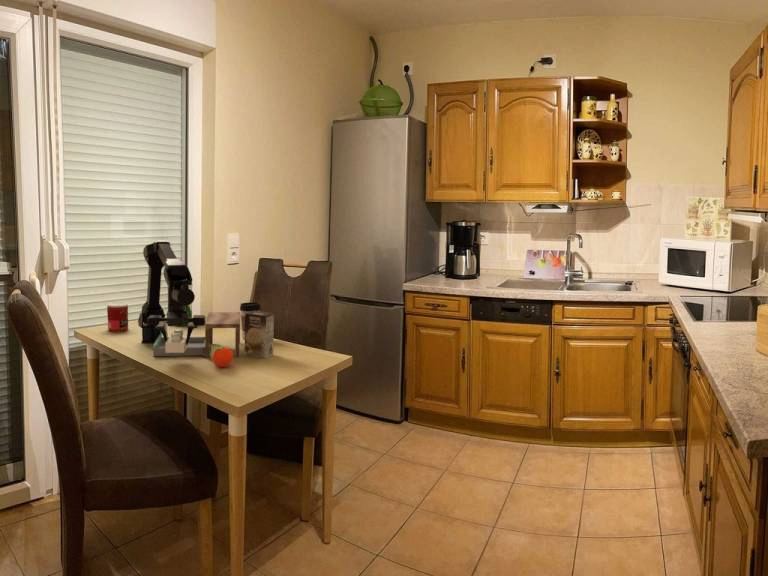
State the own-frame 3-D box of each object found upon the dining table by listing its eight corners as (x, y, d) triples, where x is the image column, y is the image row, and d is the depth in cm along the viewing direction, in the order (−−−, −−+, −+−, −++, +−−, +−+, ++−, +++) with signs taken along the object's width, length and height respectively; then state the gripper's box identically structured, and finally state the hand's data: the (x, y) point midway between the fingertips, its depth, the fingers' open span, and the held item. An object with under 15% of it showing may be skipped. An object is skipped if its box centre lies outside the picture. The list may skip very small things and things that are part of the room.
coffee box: (243, 355, 214) (243, 313, 211) (252, 351, 220) (253, 310, 217) (265, 358, 211) (265, 315, 208) (274, 354, 217) (274, 312, 214)
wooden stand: (205, 357, 208) (205, 324, 206) (208, 343, 229) (208, 312, 227) (239, 357, 211) (239, 323, 209) (239, 342, 231) (240, 312, 229)
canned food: (123, 332, 239) (122, 306, 238) (104, 331, 239) (103, 305, 238) (131, 328, 247) (131, 303, 245) (113, 327, 247) (112, 302, 245)
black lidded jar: (255, 342, 234) (255, 305, 231) (235, 340, 235) (236, 304, 233) (263, 337, 242) (264, 302, 239) (244, 335, 243) (245, 300, 241)
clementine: (210, 370, 194) (210, 350, 193) (208, 364, 200) (208, 345, 199) (234, 368, 197) (234, 348, 196) (231, 363, 204) (231, 343, 202)
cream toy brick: (165, 352, 195) (165, 335, 194) (170, 345, 204) (170, 329, 203) (184, 352, 196) (183, 335, 195) (188, 345, 205) (188, 329, 204)
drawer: (153, 356, 206) (153, 345, 206) (159, 344, 222) (159, 334, 221) (205, 355, 211) (205, 344, 210) (208, 344, 226) (208, 334, 225)
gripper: (143, 305, 188) (144, 351, 190) (203, 305, 192) (203, 350, 194) (149, 298, 198) (149, 342, 201) (205, 299, 203) (205, 342, 205)
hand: (177, 344), depth 200 cm, fingers closed on cream toy brick, 6 cm apart
